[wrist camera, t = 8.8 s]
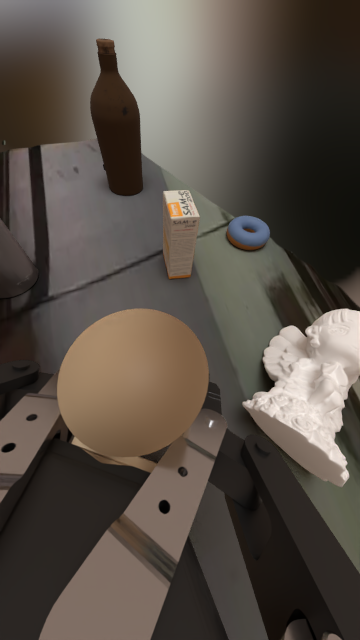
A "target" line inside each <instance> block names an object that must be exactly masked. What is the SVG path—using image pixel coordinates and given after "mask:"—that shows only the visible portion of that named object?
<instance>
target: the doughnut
mask: <svg viewBox="0 0 360 640" xmlns="http://www.w3.org/2000/svg"><path fill="white" fill-rule="evenodd" d="M269 235H270V231H269V228H268V226H267V225H266V224H265V223H264V222H263V221H261V220H260V219H258V218H255V217H252V216H240V217H237V218H235V219H233V220H232V221H231V222H230V224H229V226H228V228H227V237H228V239H229V241H230V242H231V243H232V244H233V245H235V246H236V247H238V248H241V249H244V250H255V249H259V248H261V247H262V246H264V244H265V243H266V242H267V241H268V239H269Z"/></svg>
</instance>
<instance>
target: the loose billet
mask: <svg viewBox="0 0 360 640" xmlns="http://www.w3.org/2000/svg"><path fill="white" fill-rule="evenodd" d="M208 382H209V370H208V362H207V359H206V355H205V352H204V349H203V347H202V345H201V343H200V341H199V340H198V338H197V337H196V335H195V334H194V333H193V332H192V331H191V330H190V328H189V327H188V326H186V325H185V324H184V323H183V322H181V321H180V320H178V319H177V318H175V317H173V316H171V315H169V314H166V313H164V312H161V311H156V310H151V309H129V310H124V311H120V312H116V313H113V314H111V315H108V316H106V317H104V318H102V319H100V320H98V321H97V322H95V323H94V324H92V325H91V326H90V327H88V328H87V329H86V330H85V331H84V332H83V333H82V334H81V335H80V336H79V337H78V338H77V339H76V340H75V341H74V343H73V344H72V346H71V347H70V348H69V350H68V352H67V354H66V356H65V358H64V360H63V362H62V365H61V368H60V372H59V375H58V383H57V398H58V405H59V409H60V412H61V415H62V417H63V419H64V421H65V423H66V425H67V427H68V428H69V430H70V431H71V432H72V434H73V435H74V436H75V437H76V438H77V439H78V440H79V441H80V442H82V443H83V444H84V445H86V446H87V447H89V448H90V449H93V450H95V451H97V452H99V453H102V454H105V455H109V456H114V457H137V456H142V455H147V454H150V453H152V452H155V451H158V450H160V449H162V448H164V447H166V446H167V445H169V444H171V443H172V442H173V441H175V440H176V439H178V438H179V437H180V436H181V435H182V434H183V433H184V432H185V431H186V430H187V429H188V428H189V427H190V425H191V424H192V423H193V422H194V420H195V419H196V417H197V415H198V414H199V412H200V410H201V408H202V405H203V403H204V401H205V397H206V393H207V389H208Z"/></svg>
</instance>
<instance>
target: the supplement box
mask: <svg viewBox="0 0 360 640" xmlns="http://www.w3.org/2000/svg"><path fill="white" fill-rule="evenodd" d="M199 219H200V216H199V214H198V211H197V209H196V207H195V204H194V202H193V199H192V197H191V194H190V192H189V191H187V190H182V191H164V192H163V255H164V259H165V264H166V268H167V272H168V277H169V279H174V278H175V279H176V278H185V277H190V275H191V269H192V263H193V257H194V250H195V244H196V238H197V231H198V225H199Z"/></svg>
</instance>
